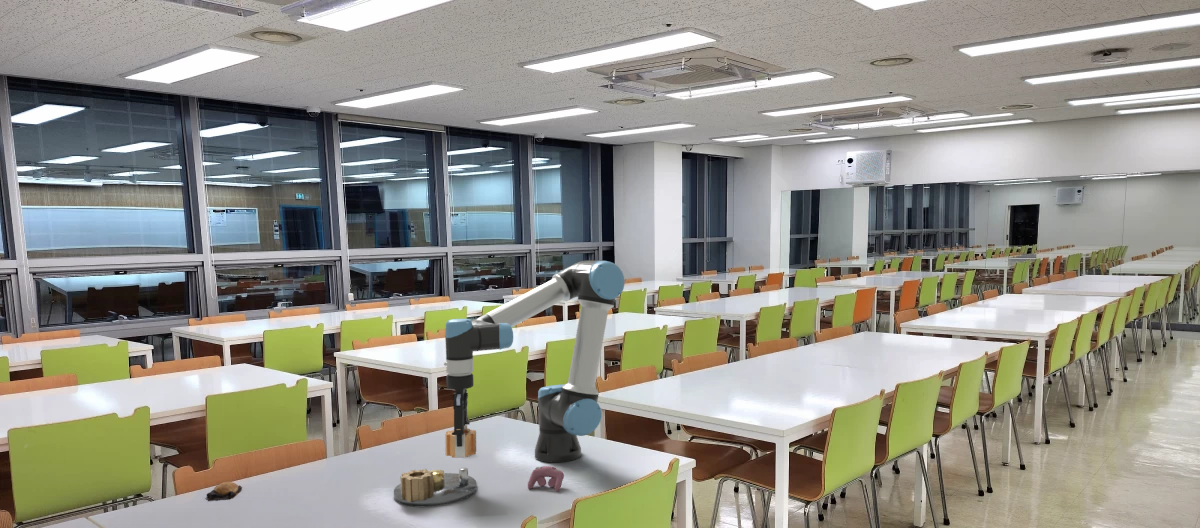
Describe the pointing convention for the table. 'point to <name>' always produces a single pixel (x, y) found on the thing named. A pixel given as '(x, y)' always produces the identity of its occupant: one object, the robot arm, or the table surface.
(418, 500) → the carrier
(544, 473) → the video game controller
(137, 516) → the table surface
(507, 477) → the table surface
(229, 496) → the brown and black mound
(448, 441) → the planet gear
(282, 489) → the table surface
